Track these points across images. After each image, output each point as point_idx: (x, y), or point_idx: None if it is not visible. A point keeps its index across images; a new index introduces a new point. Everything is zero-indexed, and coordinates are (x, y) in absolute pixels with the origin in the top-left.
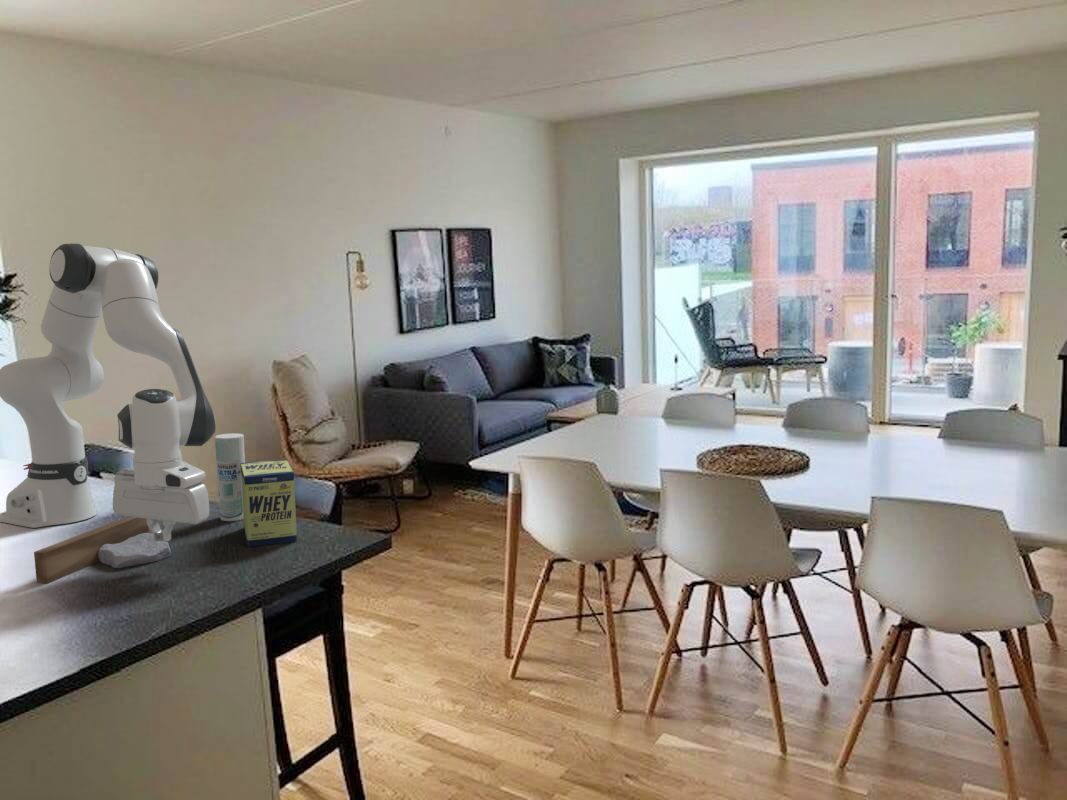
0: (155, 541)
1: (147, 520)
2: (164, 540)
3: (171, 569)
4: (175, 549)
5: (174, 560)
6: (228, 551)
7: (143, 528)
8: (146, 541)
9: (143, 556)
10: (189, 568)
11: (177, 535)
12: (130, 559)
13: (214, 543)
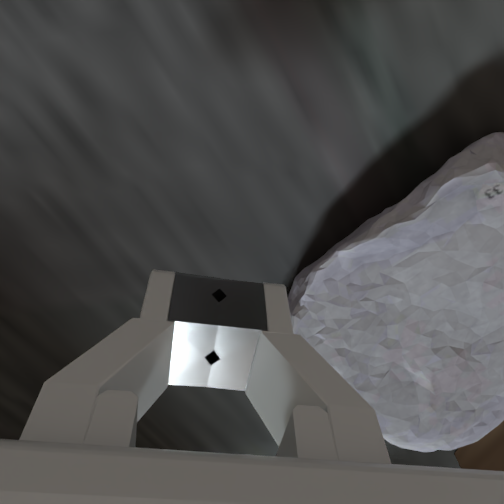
0: (362, 381)
1: (375, 448)
2: (160, 273)
3: (137, 150)
4: None
5: None
6: (34, 401)
7: None
8: (413, 373)
9: (363, 231)
10: (36, 178)
11: None
12: (430, 178)
13: None
